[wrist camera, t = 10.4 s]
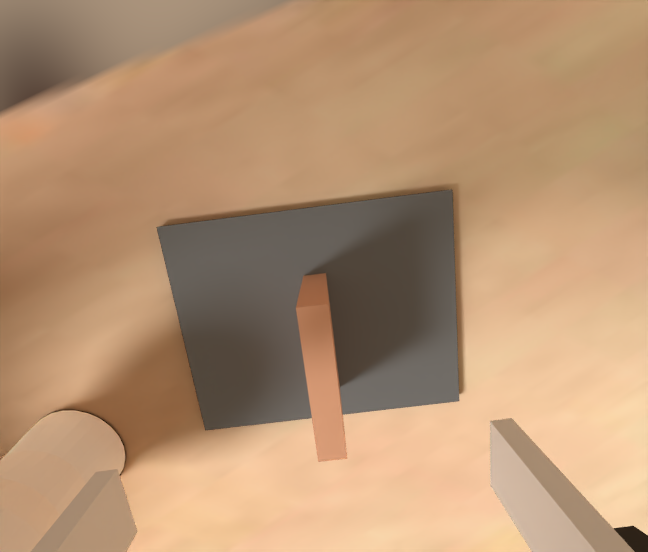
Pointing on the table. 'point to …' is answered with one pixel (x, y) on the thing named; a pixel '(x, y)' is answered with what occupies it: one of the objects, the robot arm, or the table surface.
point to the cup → (51, 473)
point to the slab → (321, 367)
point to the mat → (344, 296)
